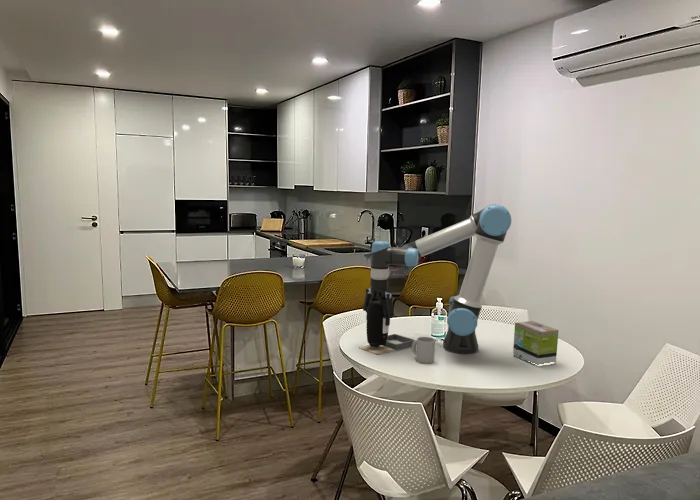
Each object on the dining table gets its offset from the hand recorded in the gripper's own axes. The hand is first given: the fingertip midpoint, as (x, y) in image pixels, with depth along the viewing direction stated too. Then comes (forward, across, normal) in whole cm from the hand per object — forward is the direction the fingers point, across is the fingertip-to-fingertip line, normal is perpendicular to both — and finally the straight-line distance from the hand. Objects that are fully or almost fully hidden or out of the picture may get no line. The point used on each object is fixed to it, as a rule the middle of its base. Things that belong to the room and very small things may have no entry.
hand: (377, 330), depth 220 cm
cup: (+9, -21, -5) cm, 23 cm away
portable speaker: (+7, 0, 0) cm, 7 cm away
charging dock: (+8, 0, -12) cm, 15 cm away
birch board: (+8, 0, 0) cm, 8 cm away
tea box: (+9, -49, -43) cm, 66 cm away
